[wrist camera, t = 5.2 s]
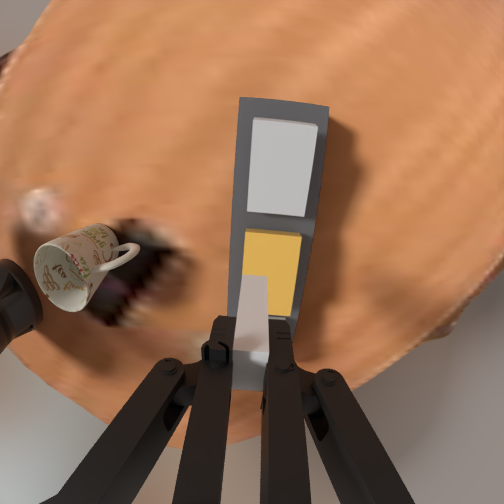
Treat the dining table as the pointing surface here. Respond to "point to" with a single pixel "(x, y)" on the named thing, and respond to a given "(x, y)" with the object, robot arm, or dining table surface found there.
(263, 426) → the robot arm
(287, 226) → the power strip
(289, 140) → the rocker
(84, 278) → the mug
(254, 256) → the block
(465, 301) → the dining table surface
